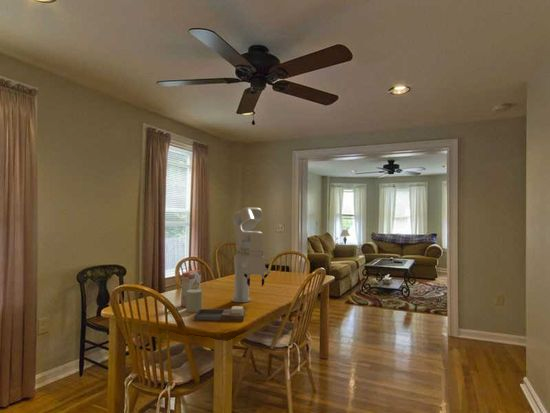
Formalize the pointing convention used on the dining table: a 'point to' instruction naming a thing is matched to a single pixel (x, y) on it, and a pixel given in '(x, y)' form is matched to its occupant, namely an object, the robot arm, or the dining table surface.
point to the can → (194, 300)
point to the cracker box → (189, 284)
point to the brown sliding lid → (232, 315)
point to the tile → (237, 309)
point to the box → (208, 315)
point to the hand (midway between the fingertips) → (255, 285)
